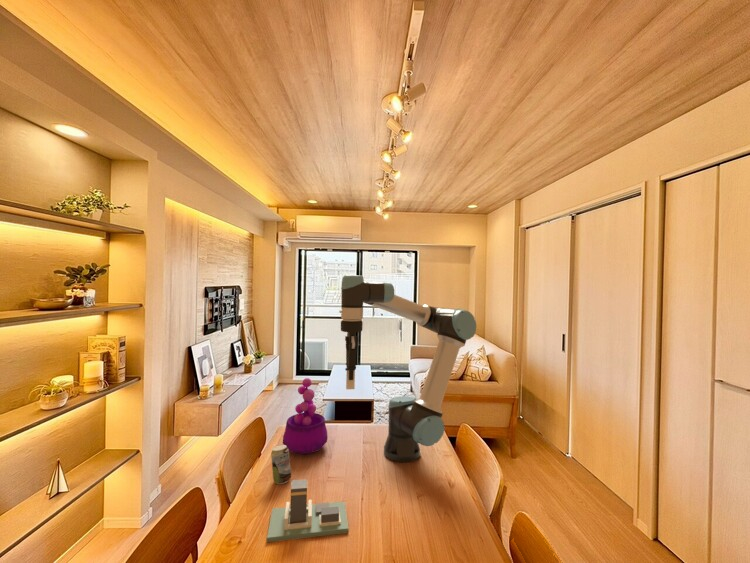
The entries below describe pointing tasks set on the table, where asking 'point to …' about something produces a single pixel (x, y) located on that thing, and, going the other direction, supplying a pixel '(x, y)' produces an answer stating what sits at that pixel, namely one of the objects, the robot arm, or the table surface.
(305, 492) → the plug
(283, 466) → the beverage can
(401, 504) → the table surface
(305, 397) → the decorative plant
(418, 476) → the table surface
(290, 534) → the board
